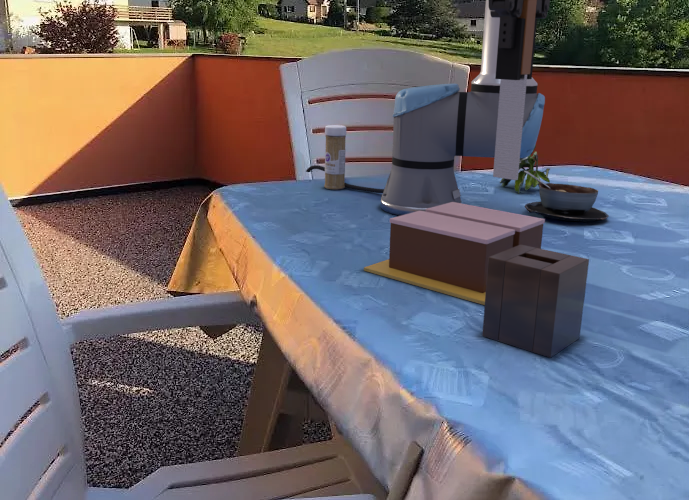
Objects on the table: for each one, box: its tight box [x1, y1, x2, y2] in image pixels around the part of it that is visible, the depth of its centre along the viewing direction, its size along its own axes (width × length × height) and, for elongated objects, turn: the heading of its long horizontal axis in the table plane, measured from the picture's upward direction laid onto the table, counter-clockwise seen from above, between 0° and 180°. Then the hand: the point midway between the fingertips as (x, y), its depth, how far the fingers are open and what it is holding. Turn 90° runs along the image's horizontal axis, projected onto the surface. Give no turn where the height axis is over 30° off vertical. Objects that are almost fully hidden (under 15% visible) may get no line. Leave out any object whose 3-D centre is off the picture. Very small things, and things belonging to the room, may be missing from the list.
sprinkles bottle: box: [323, 124, 347, 191], centre depth 152 cm, size 5×5×14 cm
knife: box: [492, 0, 537, 181], centre depth 81 cm, size 3×2×21 cm, turn 49°
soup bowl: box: [524, 171, 609, 222], centre depth 131 cm, size 15×16×7 cm
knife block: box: [481, 245, 590, 359], centre depth 76 cm, size 8×7×9 cm
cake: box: [363, 202, 546, 306], centre depth 98 cm, size 20×20×8 cm
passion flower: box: [499, 144, 551, 195], centre depth 156 cm, size 11×11×12 cm
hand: (513, 78), depth 80 cm, fingers closed on knife, 2 cm apart
